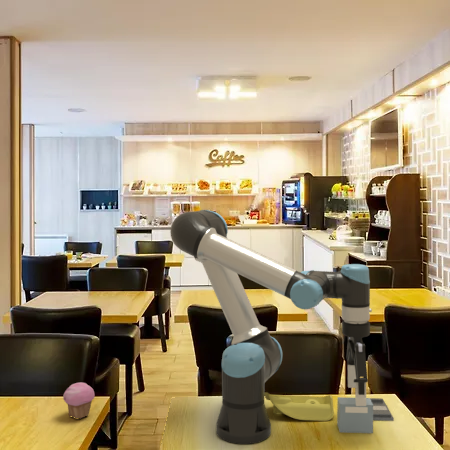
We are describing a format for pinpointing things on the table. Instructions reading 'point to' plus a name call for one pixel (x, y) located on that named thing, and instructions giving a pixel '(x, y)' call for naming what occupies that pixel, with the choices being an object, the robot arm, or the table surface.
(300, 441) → the table surface
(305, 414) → the plastic component
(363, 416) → the block
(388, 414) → the rail mount
